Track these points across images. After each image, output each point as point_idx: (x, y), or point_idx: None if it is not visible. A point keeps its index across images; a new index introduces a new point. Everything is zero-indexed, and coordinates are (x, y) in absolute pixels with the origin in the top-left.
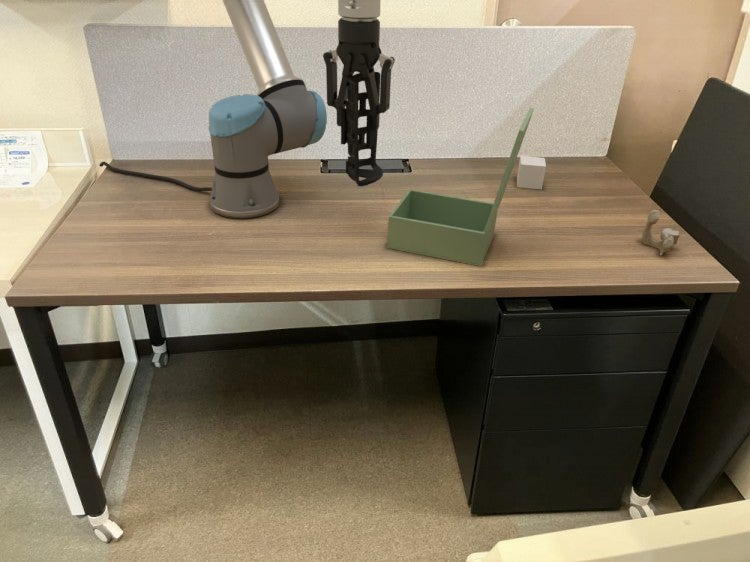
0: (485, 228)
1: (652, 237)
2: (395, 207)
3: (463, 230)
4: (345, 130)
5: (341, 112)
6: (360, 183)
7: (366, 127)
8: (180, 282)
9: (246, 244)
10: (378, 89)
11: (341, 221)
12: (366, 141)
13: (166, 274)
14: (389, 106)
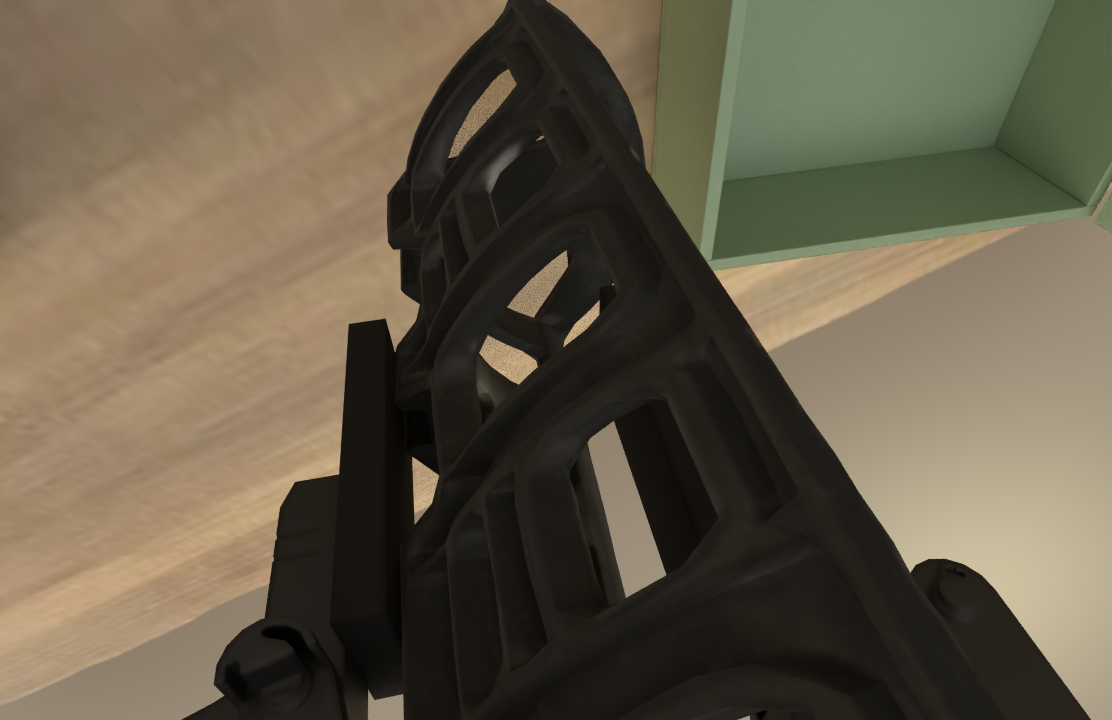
0: (1107, 229)
1: None
2: (709, 181)
3: (1007, 226)
4: (409, 487)
5: (382, 689)
6: (565, 331)
7: (648, 518)
8: (222, 571)
9: (178, 403)
10: (940, 698)
11: (355, 68)
12: None
13: (156, 572)
14: (998, 598)
